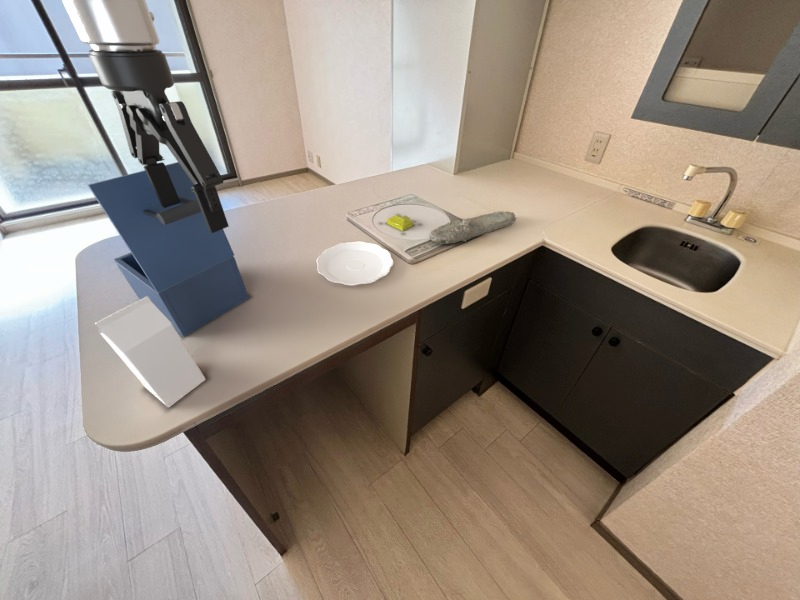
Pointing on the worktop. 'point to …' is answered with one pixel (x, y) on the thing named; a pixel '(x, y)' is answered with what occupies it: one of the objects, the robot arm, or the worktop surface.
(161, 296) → the cool box
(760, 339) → the worktop surface
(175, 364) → the milk carton
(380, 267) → the plate
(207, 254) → the cool box lid
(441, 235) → the elongated rock
